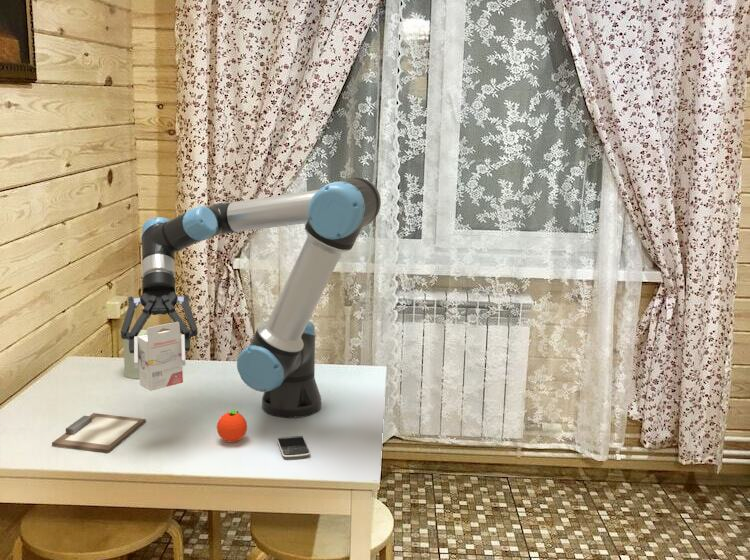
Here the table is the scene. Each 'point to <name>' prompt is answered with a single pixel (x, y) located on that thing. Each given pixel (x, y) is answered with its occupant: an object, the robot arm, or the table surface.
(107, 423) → the clipboard
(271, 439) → the table surface
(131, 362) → the can
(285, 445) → the cell phone
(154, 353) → the ink cartridge box
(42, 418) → the table surface
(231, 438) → the clementine
